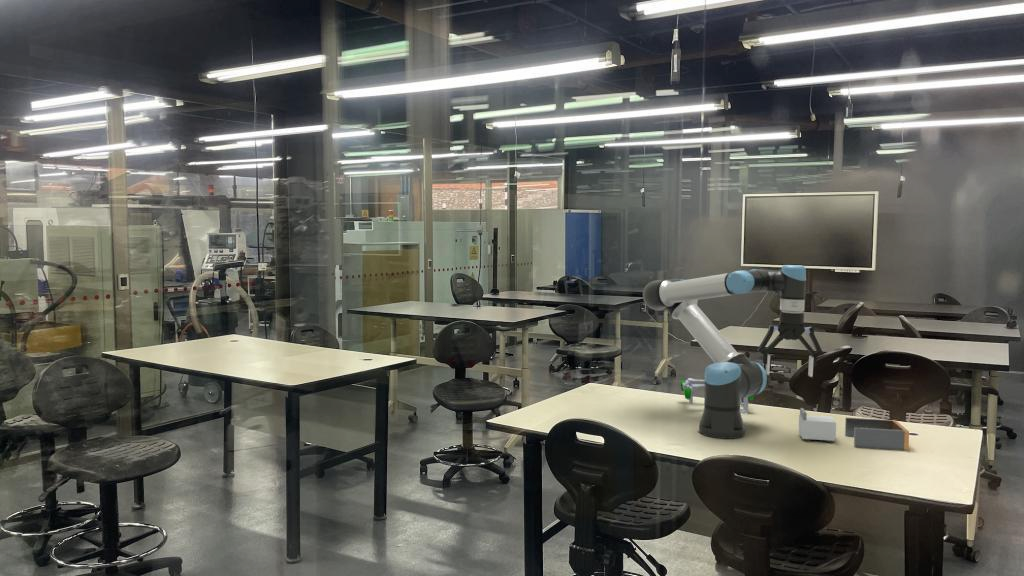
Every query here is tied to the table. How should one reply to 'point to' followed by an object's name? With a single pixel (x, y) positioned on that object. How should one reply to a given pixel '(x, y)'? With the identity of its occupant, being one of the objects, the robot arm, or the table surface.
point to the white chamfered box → (816, 427)
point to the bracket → (691, 389)
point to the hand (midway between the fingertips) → (788, 375)
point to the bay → (877, 433)
